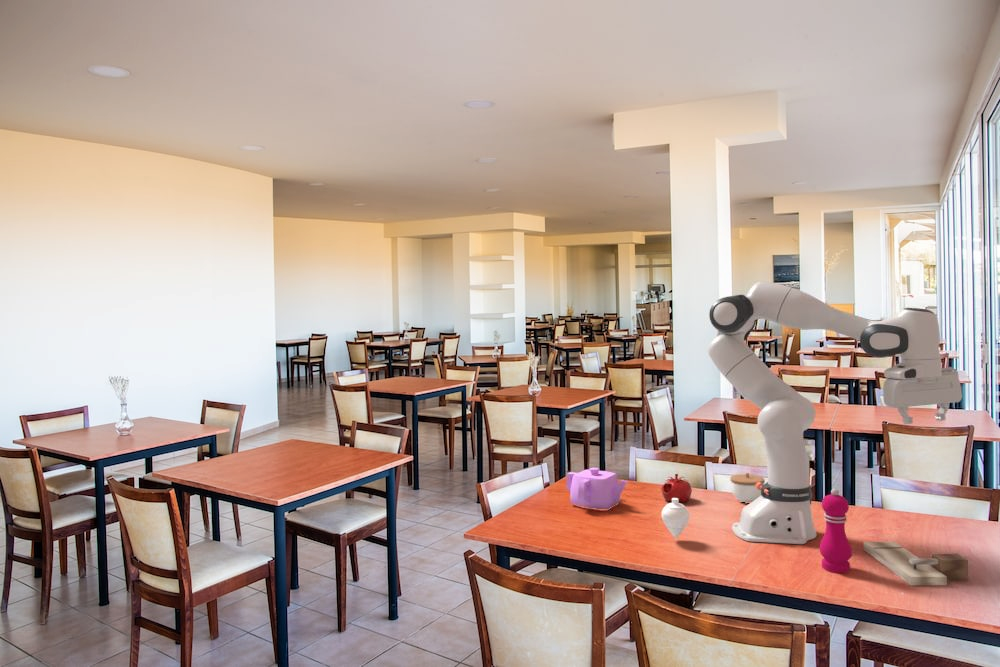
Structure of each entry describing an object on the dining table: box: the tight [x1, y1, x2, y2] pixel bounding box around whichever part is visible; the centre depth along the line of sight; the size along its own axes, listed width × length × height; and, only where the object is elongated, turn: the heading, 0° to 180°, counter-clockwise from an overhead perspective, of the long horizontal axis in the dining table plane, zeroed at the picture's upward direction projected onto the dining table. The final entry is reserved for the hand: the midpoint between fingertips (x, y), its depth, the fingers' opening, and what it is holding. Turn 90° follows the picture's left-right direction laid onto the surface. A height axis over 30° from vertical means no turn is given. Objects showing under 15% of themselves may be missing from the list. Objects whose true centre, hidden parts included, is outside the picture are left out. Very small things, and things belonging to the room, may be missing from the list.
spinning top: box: [661, 498, 691, 541], centre depth 191 cm, size 8×8×12 cm
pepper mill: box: [819, 488, 853, 574], centre depth 168 cm, size 7×7×20 cm
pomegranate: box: [661, 473, 693, 503], centre depth 229 cm, size 10×10×9 cm
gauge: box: [909, 553, 969, 582], centre depth 161 cm, size 12×4×5 cm, turn 87°
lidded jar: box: [730, 472, 766, 502], centre depth 226 cm, size 11×11×9 cm
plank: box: [863, 541, 948, 586], centre depth 168 cm, size 8×23×2 cm, turn 177°
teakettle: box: [566, 467, 628, 510], centre depth 228 cm, size 17×17×12 cm
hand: (924, 422), depth 177 cm, fingers open, 8 cm apart
